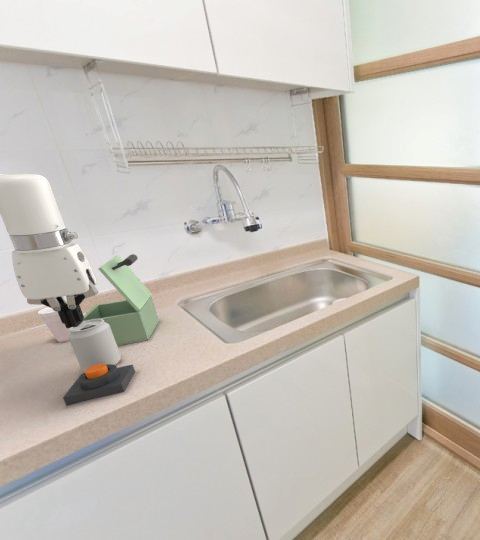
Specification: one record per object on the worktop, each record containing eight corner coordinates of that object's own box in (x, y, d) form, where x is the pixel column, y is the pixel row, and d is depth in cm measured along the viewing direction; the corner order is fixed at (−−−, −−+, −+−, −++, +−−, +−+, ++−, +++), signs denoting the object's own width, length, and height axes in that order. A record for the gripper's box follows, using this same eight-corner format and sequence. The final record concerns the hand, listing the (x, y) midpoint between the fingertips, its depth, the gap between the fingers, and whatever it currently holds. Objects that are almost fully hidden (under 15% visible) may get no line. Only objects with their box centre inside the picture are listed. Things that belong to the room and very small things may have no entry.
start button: (84, 381, 71) (81, 374, 71) (91, 372, 75) (88, 365, 74) (104, 376, 73) (102, 370, 72) (111, 367, 76) (108, 361, 75)
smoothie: (54, 346, 92) (34, 301, 88) (47, 340, 95) (27, 296, 91) (84, 336, 97) (66, 292, 93) (76, 330, 101) (59, 288, 96)
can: (84, 379, 78) (66, 335, 74) (81, 367, 83) (63, 324, 79) (124, 365, 83) (109, 322, 79) (119, 354, 88) (104, 313, 84)
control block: (66, 406, 70) (59, 390, 68) (83, 383, 76) (76, 369, 75) (124, 392, 73) (118, 377, 72) (135, 371, 80) (130, 357, 79)
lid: (97, 268, 85) (121, 258, 86) (115, 256, 96) (136, 246, 97) (137, 311, 91) (158, 301, 92) (149, 295, 102) (168, 286, 103)
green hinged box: (87, 351, 89) (76, 323, 86) (105, 330, 100) (95, 304, 97) (148, 340, 94) (139, 312, 91) (159, 321, 105) (151, 296, 102)
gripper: (99, 232, 69) (124, 310, 76) (1, 240, 64) (38, 324, 70) (83, 240, 63) (112, 325, 69) (-27, 250, 57) (16, 341, 64)
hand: (75, 324), depth 70 cm, fingers closed
